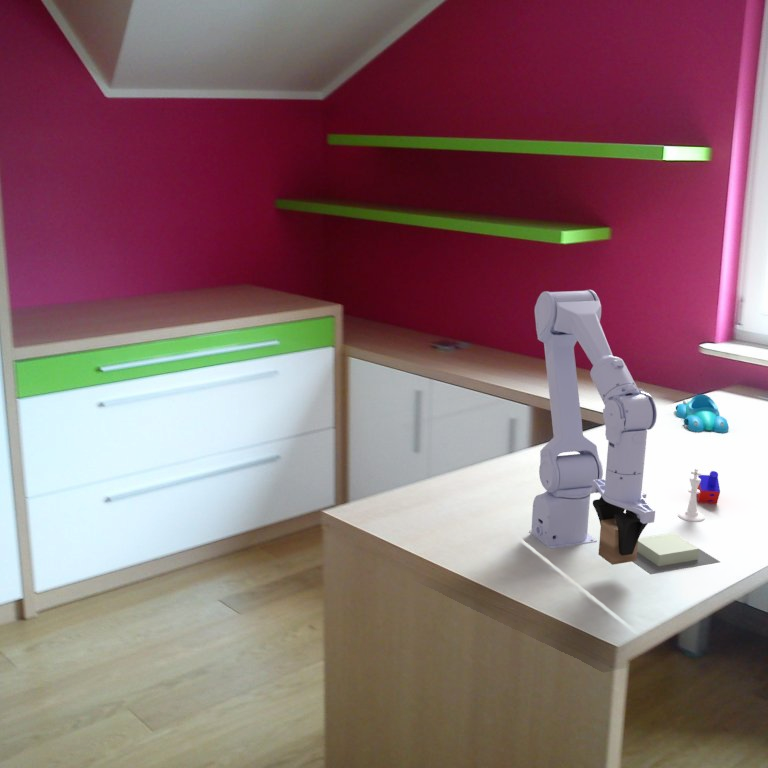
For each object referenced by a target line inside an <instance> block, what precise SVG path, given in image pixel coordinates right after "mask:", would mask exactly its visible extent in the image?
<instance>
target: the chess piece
mask: <svg viewBox="0 0 768 768" xmlns="http://www.w3.org/2000/svg"><path fill="white" fill-rule="evenodd" d="M698 471H699V469H698V468H694V470H691V471H690V474H691V475H694V476H691V477H689V483H690V486H691V487H690V488H689V489H688V490H687V491H688V493H690V499H689V501H688V506H687V508H686V509H685V510H683V511H682V510H681V511H680V512H678V514H677V515H678V517H679V518H680V519H681V520H683V521H687V522H695V523H698V522H699V523H700V522H703V521H704V520H705V518H706V517H705V515H704V514H703V513H702V512H699V510H698V506H697V504H698V503H697V502H698V500H697V496H696V494H699V493H700V490H698V489H697V488H698V486H699V484H700V482H701V479H700V478H698V476H700V475H702V473H701V472H698Z"/></svg>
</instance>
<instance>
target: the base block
mask: <svg viewBox="0 0 768 768" xmlns="http://www.w3.org/2000/svg"><path fill="white" fill-rule="evenodd" d="M699 549H700V548H699V547H698V546H696V545H694V544H693V543H690V542H689V540H686V539H684V538H683V537H681V536H680V535H678V534H676V533H675V532H669V533H664V534H663V533H662V534H658V535H651V536H644V537H639V538H638V547H637V552H638V553H640V554H641V555H643V556H644V557H646V558H647V559H649V560H650V561H652V562H653V563H654V564H656V565H657V566H663V565H669V564H675V563H681V562H686V561H692V560H698V556H699Z"/></svg>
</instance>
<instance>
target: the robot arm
mask: <svg viewBox="0 0 768 768" xmlns="http://www.w3.org/2000/svg"><path fill="white" fill-rule="evenodd" d="M601 317H602V304H601V301H600V298H599V296H598V295H597V293H596V292H595V291H594V290H593V289H585V290H572V291H571V290H570V291H568V290H567V291H549V290H548V291H542V292H540V295H539V296H538V297H537V300H536V303H535V305H534V319H535V330H536V335H537V340H538V341H540V342H542V343H543V345H544V346H543V347H544V356H545V357H544V358H545V368H546V375H547V384H548V394H549V403H550V413H551V425H552V433H553V437H552V438H551V439H550V440H549V441H548V442H547V444H545V445H544V446H543V447H542V449H540V450H539V451H540V453H539V455H540V456H539V458H540V460H539V463H540V464H539V469H538V473H539V480H540V483H541V485H542V487H543V488H544V490H545V492H543V493H541V494H537V495H536V496H535V497H534V500H533V502H532V515H531V529H530V530H529V533H530V534H531V535H532V536H534V537H535V538H536V539H538V540H539V541H540V542H542V543H543V544H544V545H545V546H546V547H547V548H549V549H558V548H566V547H572V546H579V545H583V544H584V545H586V544H591V543H597V541H598V540H597V538H594V537H593V536H592V535H590V534H589V533H588V528H589V516H590V515H589V514H590V513H589V512H590V505H591V503H590V501H591V494H594V493H595V494H600V497H599V499H598V498H597V499H594V500H593V501H592V506H593V508H594V510H595V512H596V514H597V517H598V520H599V525H600V526H601V520H607V519H613V518H615V520H616V523H617V527H618V533H619V552H620V554H621V555H622V556H624V555H630V554H633V551H634V549H635V546H636V543H637V541H638V538H640V536H641V534H642V532H643V531H644V529H645V528H646V526H647V525H648V524H651V523H655V518H656V517H655V516H656V510H655V509H653V508H652V507H651V506H650V505H649V503H648V502H647V501H646V498H647V493H646V492H645V491H643V489H642V488H643V482H644V481H643V479H644V472H645V471H644V470H645V468H644V467H645V458H646V448H647V435H648V431H649V430H652V429H653V428H654V427H655V425H656V422H657V417H658V414H657V407H656V404H655V401H654V397H653V396H652V395H651V394H650V393H648V392H646V391H644V390H643V388H639V387H638V386H637V384H636V382H635V381H634V379H633V376H632V375H631V372H630V371H629V369H628V367H627V365H626V363H625V362H624V360H623V359H622V358H621V357H618V356H614V355H613V352H612V350H611V348H610V347H611V346H610V345H609V343H608V340H607V338H606V335H605V332H604V329H603V327H602V324H601ZM577 342H578V343H579V345H580V346H581V348H582V350H583V351H584V353H585V355H586V357H587V358H588V360H589V361H590V362H591V364H592V368H591V370H590V373H589V374H590V378H591V380H592V382H593V384H594V387H595V388H596V390H597V391H598V395H599V396H600V398H601V401H602V402H603V405H604V408H603V409H602V415H603V421H604V425H605V439H606V440H607V441H608V442H607V455H606V467H605V469H606V470H605V479H603V474H604V473H603V471H604V470H603V465H602V462H601V460H600V457H599V452H598V446H597V445H596V444H595V443H594V442H593V441H591V440H590V439H589V438H587V437H585V435H584V433H583V432H584V431H583V422H582V412H581V405H580V394H579V386H578V377H577V366H576V357H575V345H576V344H577ZM571 452H576V453H577V454H567V455H566V454H565V455H560V454H564V453H571Z"/></svg>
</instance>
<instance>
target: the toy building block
mask: <svg viewBox="0 0 768 768" xmlns="http://www.w3.org/2000/svg"><path fill="white" fill-rule="evenodd" d="M697 477H698V478H700V479H701V482H700V484H699V486H698V488H697V489H698V490H700V493H699V494H696V499H697V502H698V503H702V504H705V503H706V504H715V505H716V504H718V501H719V498H720V493H721V490H720V483H719V482H720V481H719V473H718V472H717V471H715V470H711V471H710V472H709V474H701V475H700V476H698V475H697Z"/></svg>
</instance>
